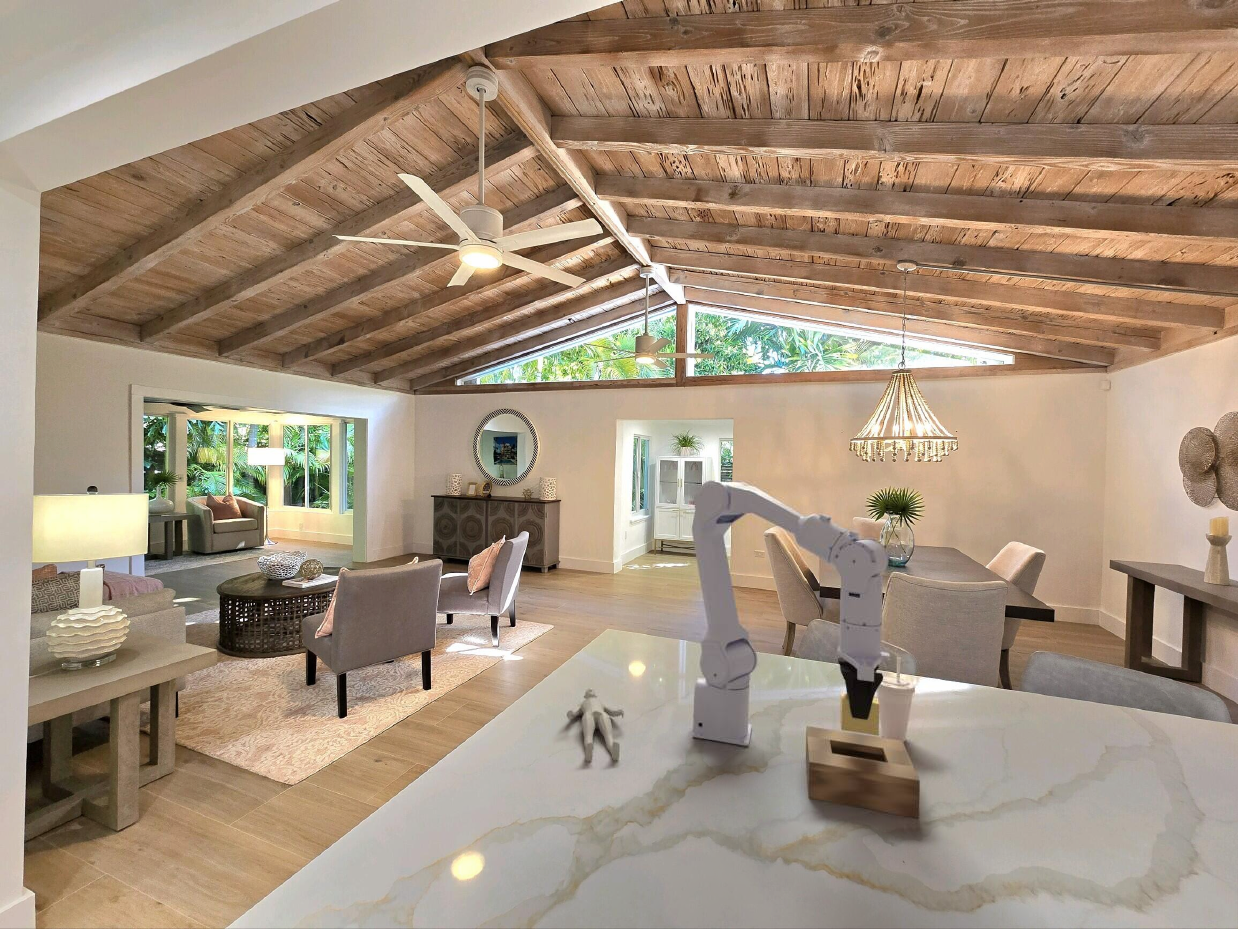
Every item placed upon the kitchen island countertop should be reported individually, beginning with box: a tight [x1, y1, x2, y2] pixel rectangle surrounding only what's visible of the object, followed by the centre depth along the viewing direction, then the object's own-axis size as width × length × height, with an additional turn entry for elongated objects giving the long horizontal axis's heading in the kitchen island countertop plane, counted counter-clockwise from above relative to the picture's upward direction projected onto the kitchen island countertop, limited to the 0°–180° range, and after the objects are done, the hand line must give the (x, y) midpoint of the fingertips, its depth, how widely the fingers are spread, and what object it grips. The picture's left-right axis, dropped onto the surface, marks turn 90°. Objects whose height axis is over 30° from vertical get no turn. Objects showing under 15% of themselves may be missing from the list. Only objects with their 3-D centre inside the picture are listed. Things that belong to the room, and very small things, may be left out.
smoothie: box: [876, 657, 916, 743], centre depth 98 cm, size 6×6×14 cm
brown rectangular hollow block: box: [805, 725, 921, 819], centre depth 82 cm, size 14×12×5 cm
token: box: [839, 692, 880, 737], centre depth 82 cm, size 5×2×4 cm, turn 73°
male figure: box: [566, 687, 625, 762], centre depth 98 cm, size 10×4×22 cm
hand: (858, 713), depth 82 cm, fingers closed on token, 2 cm apart
